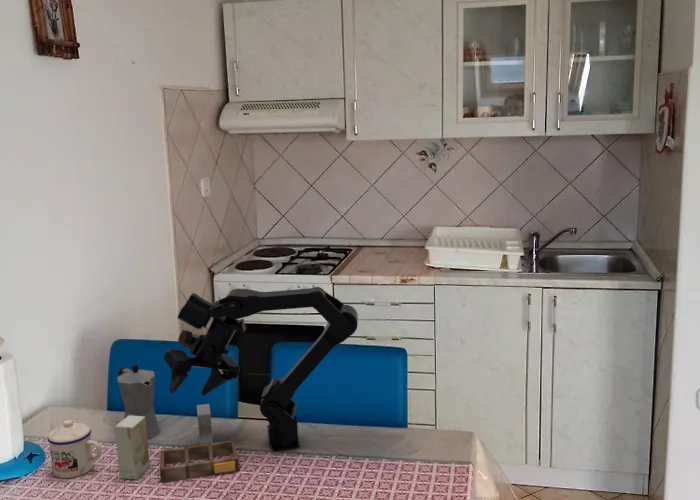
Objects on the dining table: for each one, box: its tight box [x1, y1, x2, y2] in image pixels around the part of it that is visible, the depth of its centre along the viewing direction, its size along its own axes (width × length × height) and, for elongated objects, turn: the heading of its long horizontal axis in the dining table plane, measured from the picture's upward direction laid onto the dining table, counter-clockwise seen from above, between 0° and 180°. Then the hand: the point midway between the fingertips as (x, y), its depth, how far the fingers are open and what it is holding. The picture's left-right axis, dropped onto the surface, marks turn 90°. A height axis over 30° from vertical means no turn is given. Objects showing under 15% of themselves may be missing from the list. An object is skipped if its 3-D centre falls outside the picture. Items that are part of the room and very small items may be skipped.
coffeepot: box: [116, 364, 161, 440], centre depth 173 cm, size 15×9×18 cm, turn 44°
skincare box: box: [114, 415, 151, 480], centre depth 154 cm, size 6×4×12 cm
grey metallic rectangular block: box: [196, 403, 214, 445], centre depth 168 cm, size 3×6×8 cm, turn 14°
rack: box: [159, 439, 240, 484], centre depth 156 cm, size 17×10×3 cm, turn 104°
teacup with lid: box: [47, 419, 103, 479], centre depth 156 cm, size 12×9×12 cm
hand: (187, 393), depth 164 cm, fingers open, 9 cm apart
